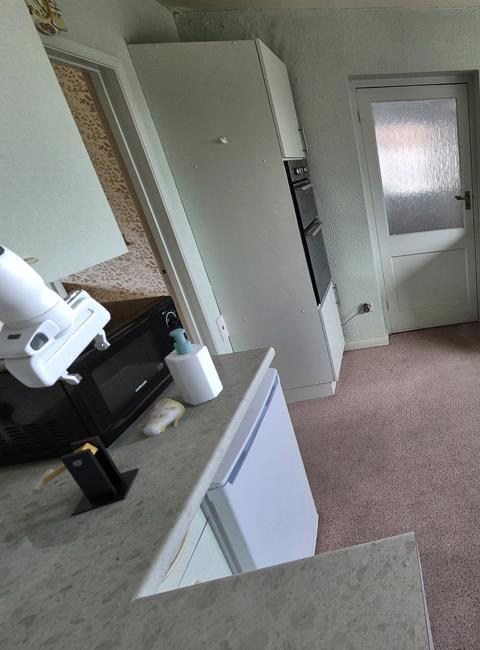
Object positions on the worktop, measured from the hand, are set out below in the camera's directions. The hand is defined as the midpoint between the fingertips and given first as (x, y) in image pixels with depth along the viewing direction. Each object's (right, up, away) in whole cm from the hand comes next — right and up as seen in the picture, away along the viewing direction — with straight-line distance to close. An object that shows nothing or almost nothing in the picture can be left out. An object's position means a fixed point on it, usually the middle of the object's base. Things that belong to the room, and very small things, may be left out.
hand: (91, 364), depth 83 cm
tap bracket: (+4, -29, 0) cm, 29 cm away
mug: (+1, -20, +20) cm, 29 cm away
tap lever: (0, -21, -4) cm, 22 cm away
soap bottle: (+3, -14, +33) cm, 36 cm away
